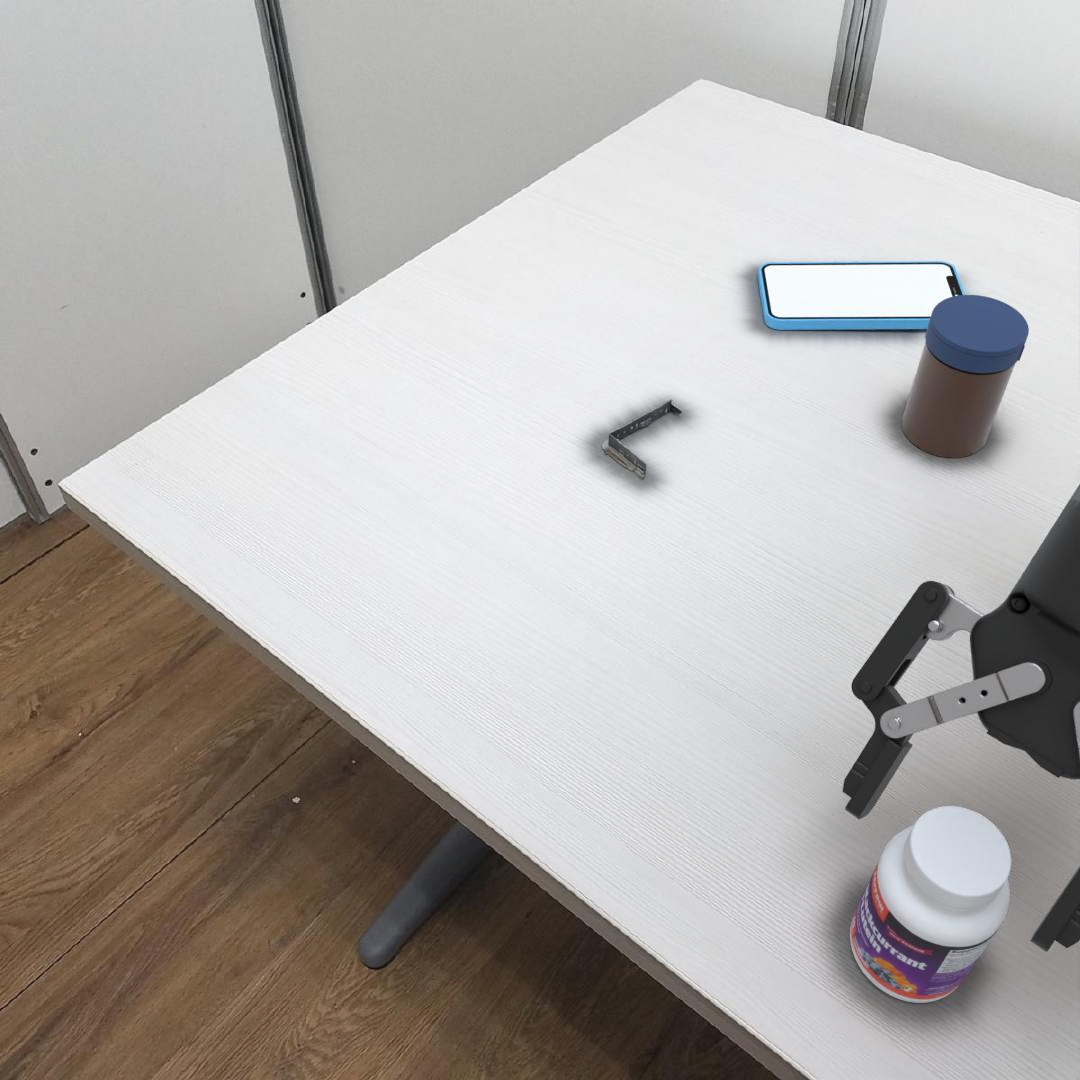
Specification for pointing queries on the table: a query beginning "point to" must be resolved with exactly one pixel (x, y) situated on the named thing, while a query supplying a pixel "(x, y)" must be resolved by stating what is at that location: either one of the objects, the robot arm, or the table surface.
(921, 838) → the pill bottle
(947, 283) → the smartphone
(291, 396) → the table surface
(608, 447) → the bent metal strip
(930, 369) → the jar
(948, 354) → the jar lid
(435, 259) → the table surface
